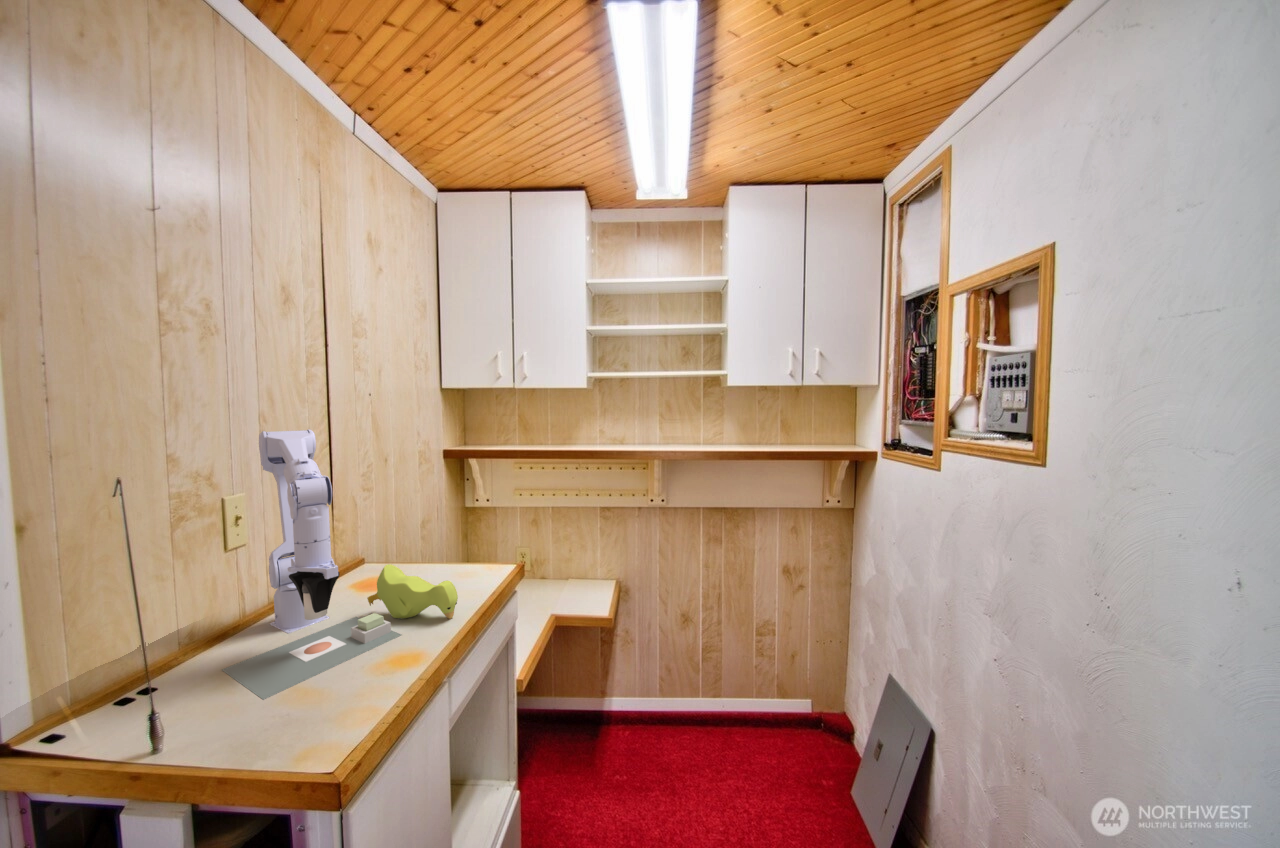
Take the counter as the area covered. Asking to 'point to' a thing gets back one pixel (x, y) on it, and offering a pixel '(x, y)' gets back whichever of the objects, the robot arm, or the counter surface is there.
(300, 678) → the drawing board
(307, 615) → the jar with dark lid
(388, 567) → the toy
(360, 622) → the button
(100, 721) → the counter surface
